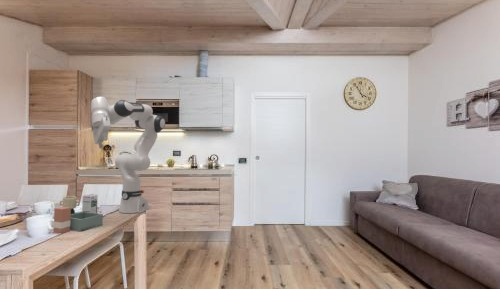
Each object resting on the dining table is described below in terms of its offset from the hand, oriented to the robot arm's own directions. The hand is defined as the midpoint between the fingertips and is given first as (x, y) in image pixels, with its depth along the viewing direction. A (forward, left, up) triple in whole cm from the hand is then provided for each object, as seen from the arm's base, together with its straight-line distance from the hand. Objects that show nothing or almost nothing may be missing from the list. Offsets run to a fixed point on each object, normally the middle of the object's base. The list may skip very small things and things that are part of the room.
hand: (103, 144), depth 156 cm
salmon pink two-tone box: (+14, -10, -45) cm, 49 cm away
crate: (+3, -9, -45) cm, 46 cm away
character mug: (-5, -28, -46) cm, 54 cm away
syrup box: (-11, -19, -46) cm, 51 cm away
